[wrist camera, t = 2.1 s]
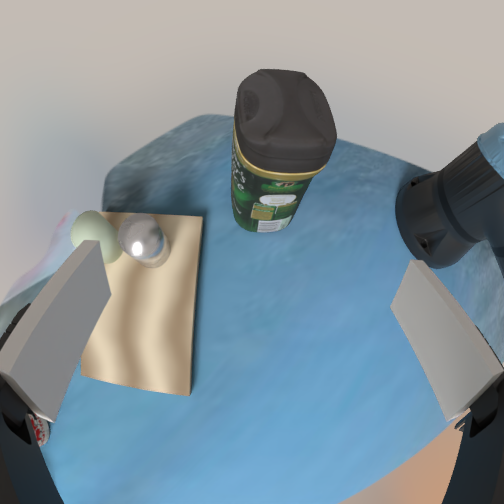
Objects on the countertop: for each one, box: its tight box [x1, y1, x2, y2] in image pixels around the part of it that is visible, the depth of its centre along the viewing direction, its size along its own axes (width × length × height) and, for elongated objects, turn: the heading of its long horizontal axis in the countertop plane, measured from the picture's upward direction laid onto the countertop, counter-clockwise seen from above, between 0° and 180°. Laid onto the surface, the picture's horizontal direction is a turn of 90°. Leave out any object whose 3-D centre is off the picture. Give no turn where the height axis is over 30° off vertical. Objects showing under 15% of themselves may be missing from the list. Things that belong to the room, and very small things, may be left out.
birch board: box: [81, 212, 203, 396], centre depth 30 cm, size 14×21×2 cm, turn 176°
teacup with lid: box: [27, 408, 49, 447], centre depth 18 cm, size 12×9×12 cm
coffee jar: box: [231, 69, 337, 232], centre depth 26 cm, size 10×8×19 cm
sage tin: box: [71, 211, 123, 264], centre depth 27 cm, size 4×4×6 cm
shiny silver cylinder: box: [118, 213, 171, 268], centre depth 28 cm, size 4×4×6 cm
